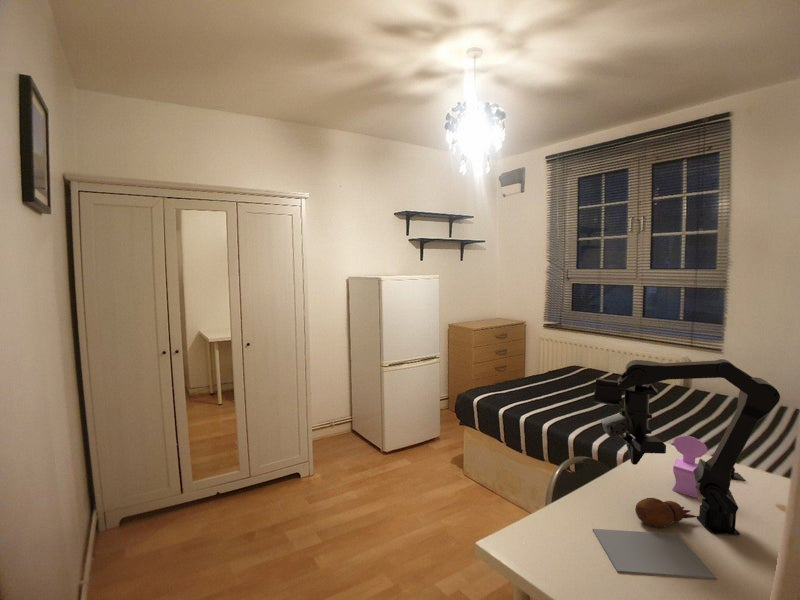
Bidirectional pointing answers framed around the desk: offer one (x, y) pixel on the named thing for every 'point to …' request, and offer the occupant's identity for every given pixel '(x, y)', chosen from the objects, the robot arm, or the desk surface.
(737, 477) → the build plate
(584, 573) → the desk surface
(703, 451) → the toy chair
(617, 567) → the mat
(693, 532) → the desk surface
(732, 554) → the desk surface
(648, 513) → the wooden figurine
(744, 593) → the desk surface
